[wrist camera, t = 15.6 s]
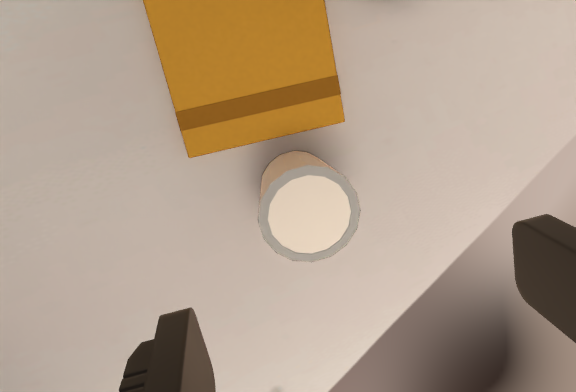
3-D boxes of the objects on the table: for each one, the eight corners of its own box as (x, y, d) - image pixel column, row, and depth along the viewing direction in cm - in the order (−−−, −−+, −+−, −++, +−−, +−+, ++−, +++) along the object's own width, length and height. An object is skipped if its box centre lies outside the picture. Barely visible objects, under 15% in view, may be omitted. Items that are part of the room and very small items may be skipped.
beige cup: (249, 146, 36) (253, 170, 30) (336, 139, 37) (360, 160, 30) (256, 229, 38) (262, 268, 32) (339, 220, 39) (361, 257, 32)
